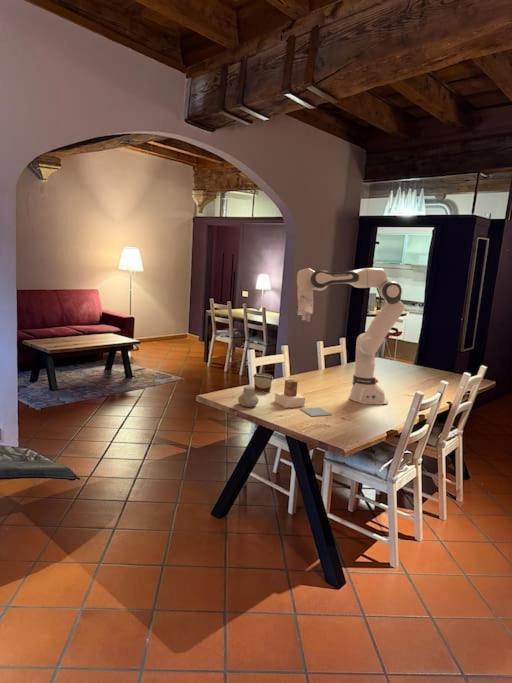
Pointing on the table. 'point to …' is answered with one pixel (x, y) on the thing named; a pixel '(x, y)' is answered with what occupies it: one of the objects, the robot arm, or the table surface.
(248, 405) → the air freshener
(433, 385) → the table surface
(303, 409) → the mat
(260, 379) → the food container
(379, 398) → the robot arm
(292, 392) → the walnut block
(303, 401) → the block
